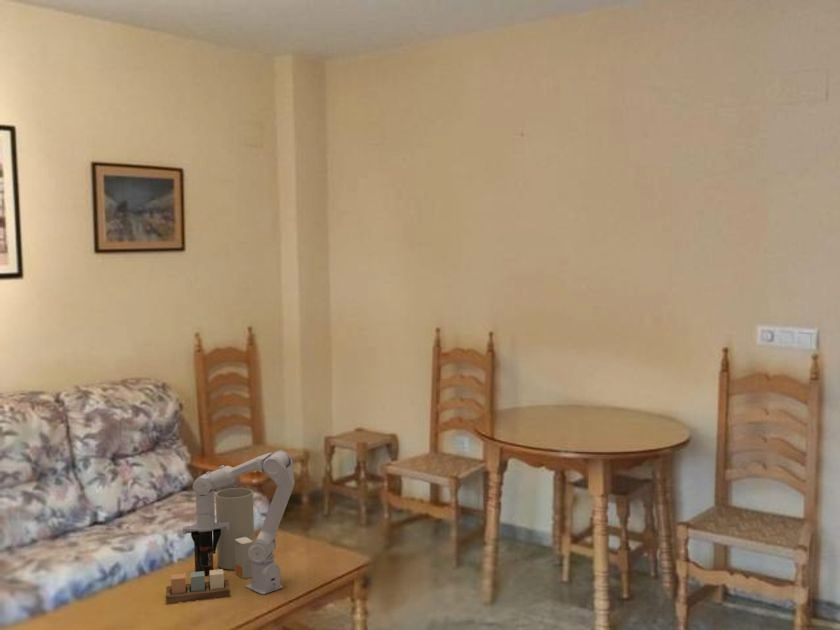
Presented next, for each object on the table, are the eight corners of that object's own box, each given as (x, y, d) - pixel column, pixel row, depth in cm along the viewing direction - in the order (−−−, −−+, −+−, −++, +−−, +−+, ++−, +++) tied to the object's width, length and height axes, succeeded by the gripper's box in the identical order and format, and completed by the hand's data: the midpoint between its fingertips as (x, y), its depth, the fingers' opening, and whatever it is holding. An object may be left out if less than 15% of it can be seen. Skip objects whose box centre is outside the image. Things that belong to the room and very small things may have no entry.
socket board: (229, 596, 257) (229, 589, 257) (166, 604, 252) (166, 597, 252) (228, 586, 266) (228, 579, 266) (166, 593, 260) (166, 586, 260)
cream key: (224, 587, 259) (223, 573, 258) (210, 589, 258) (209, 575, 257) (223, 583, 263) (222, 568, 262) (209, 584, 262) (209, 570, 261)
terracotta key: (185, 592, 256) (185, 577, 255) (171, 594, 254) (171, 579, 254) (185, 587, 260) (185, 573, 259) (171, 589, 258) (171, 574, 258)
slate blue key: (205, 590, 257) (204, 575, 257) (191, 591, 256) (190, 577, 256) (204, 585, 261) (204, 570, 261) (190, 586, 260) (190, 572, 260)
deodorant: (208, 576, 274) (207, 532, 273) (191, 575, 275) (190, 531, 274) (216, 570, 280) (215, 526, 279) (200, 569, 281) (198, 525, 280)
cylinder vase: (262, 561, 287) (260, 491, 286) (236, 573, 277) (234, 500, 275) (236, 555, 294) (234, 486, 292) (209, 566, 283) (207, 494, 282)
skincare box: (235, 574, 276) (234, 539, 275) (246, 571, 279) (245, 536, 278) (242, 579, 271) (242, 543, 270) (254, 576, 274) (254, 541, 273)
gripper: (227, 506, 271) (228, 546, 272) (181, 510, 267) (183, 551, 268) (229, 512, 264) (230, 554, 265) (182, 517, 260) (183, 559, 261)
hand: (206, 553), depth 266 cm, fingers open, 4 cm apart
